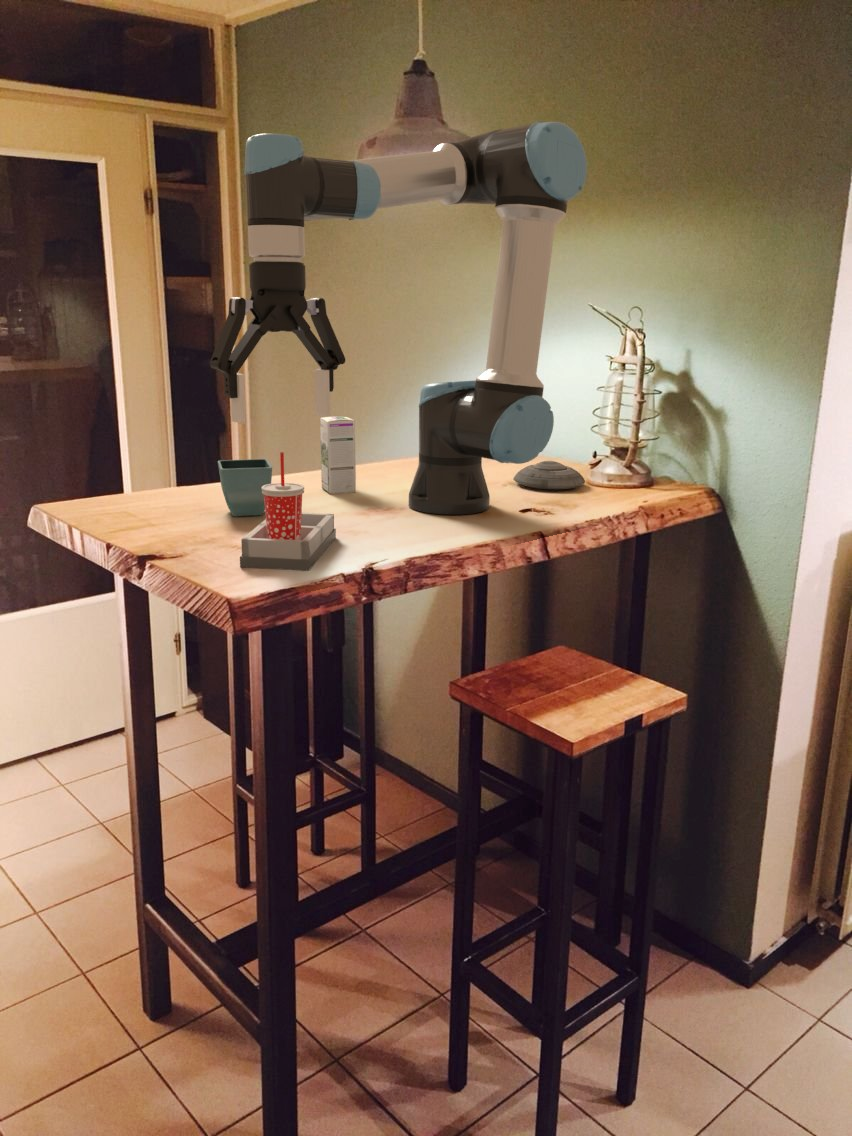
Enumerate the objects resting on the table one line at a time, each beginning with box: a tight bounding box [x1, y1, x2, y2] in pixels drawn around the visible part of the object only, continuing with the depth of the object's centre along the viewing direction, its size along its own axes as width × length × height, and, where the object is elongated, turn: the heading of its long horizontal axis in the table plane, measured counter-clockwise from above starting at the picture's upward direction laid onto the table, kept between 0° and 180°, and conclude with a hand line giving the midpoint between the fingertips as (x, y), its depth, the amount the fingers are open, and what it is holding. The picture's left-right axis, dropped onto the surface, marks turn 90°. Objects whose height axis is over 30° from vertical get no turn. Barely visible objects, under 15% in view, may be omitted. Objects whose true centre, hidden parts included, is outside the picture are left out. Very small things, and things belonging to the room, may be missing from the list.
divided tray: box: [239, 512, 337, 571], centre depth 141 cm, size 10×19×4 cm, turn 174°
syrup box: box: [319, 415, 357, 495], centre depth 184 cm, size 6×6×14 cm
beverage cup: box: [261, 451, 305, 540], centre depth 135 cm, size 6×6×14 cm
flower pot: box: [217, 458, 273, 517], centre depth 164 cm, size 9×9×9 cm
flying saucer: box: [513, 460, 586, 490], centre depth 196 cm, size 15×15×6 cm
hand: (281, 418), depth 132 cm, fingers open, 13 cm apart
